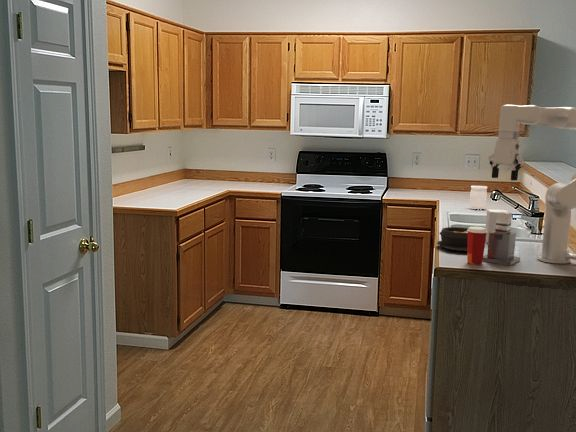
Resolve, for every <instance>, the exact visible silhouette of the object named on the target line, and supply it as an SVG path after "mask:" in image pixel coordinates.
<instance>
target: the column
mask: <svg viewBox="0 0 576 432" xmlns="http://www.w3.org/2000/svg"><path fill="white" fill-rule="evenodd" d="M512 214H513V213H512V212H509V211H507V212H497V219H496V229H495V233H499V234H507V235H508V234H510V232H511V228H512V227H511V226H512Z"/></svg>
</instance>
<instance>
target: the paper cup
mask: <svg viewBox="0 0 576 432" xmlns="http://www.w3.org/2000/svg"><path fill="white" fill-rule="evenodd" d="M467 228H468V230H467V231H468V247H467V251H466V252H467V254H466V255H467V256H466V258H467V259H466V261H467V264H469V265H474V266H480V265H481V266H482V264H483V262H484V261H483V256H485V255H484V254H485V247H486V234H487V229H486V227H483V226H482V227H481V226H469V227H467Z"/></svg>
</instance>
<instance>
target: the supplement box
mask: <svg viewBox="0 0 576 432" xmlns="http://www.w3.org/2000/svg"><path fill="white" fill-rule="evenodd" d="M497 212H508V210H505V209H486V218H485V220H486V221H485V228H486V229H487V234H486V241H485V244H487V245H488V241H489V233H490V232H492V231H495V229H496V219H497Z"/></svg>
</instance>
